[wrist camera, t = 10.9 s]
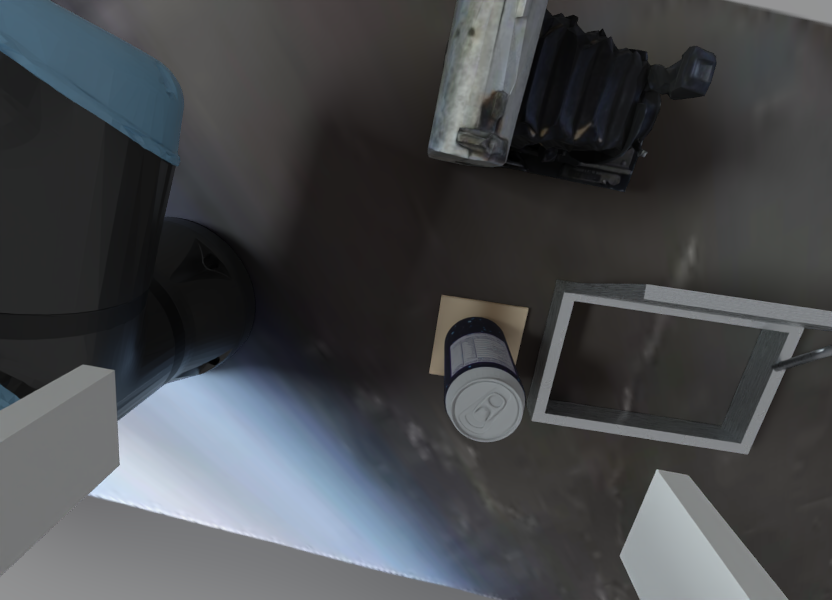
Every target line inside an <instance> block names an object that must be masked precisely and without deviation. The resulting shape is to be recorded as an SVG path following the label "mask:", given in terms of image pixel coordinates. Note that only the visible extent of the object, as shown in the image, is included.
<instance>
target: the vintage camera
mask: <svg viewBox="0 0 832 600" xmlns="http://www.w3.org/2000/svg"><path fill="white" fill-rule="evenodd" d="M547 3H548V0H457V2H456V7H455V12H454V17H453V22H452V27H451V33H450V37H449V40H448V43H447V48H446V53H445V59H444V64H443V74H442V79H441V84H440V89H439V94H438V99H437V104H436V110H435V115H434V120H433V125H432V130H431V135H430V140H429V145H428V156H429V157H430V158H433V159H437V160H442V161H447V162H452V163H456V164H462V165H467V166H479V167H497V166H499V167H505V168H511V169H516V170H521V171H525V172H530V173H535V174H540V175H545V176H550V177H554V178H559V179H564V180H568V181H573V182H578V183H583V184H588V185H593V186H598V187H603V188H608V189H613V190H617V191H622V192H625V190H626V188H627V185H628V183H629V181H630V178H631V175H632V172H633V169H634V167H635V164H636V161H637V158H638V157H639V156H643V157H645V156H646V154H647V152H646V151H645V150H643V149H641V146H642V143H643V140H644V138H645V137H646V136H647V135H648V133H649V132H650V131H651V130H652V127H653V125H654V122H655V120H656V118H657V115H658V113H659V110H660V105H661V98H660V94H662V95H663V94H668V95H669V97H670V99H673V100H677V99H686V98H694V97H700V96H705V94H706V92H707V90H708V87H709V85H710V83H711V81H712V77H713V74H714V70H715V67H716V56H715V55H714V53H711V52H709V51H706V50H704V49H702V48H700V47H698V46H692V47H689V48H688V50H687V51H686V52H685V53H684V54H683V55H682V59H681V60H680V61H678V62H677V63H675V64H674V65H672V66H670V67H669V68H664V66H662V65H652V66H650V64H649V63H648V61H647V60H648V56H647V52H646V51H642V50H635V49H628V48H624V49H620V50H618V49H617V47H616V46H615V44H614V43H613V40H612V37H609V38H607V37H606V35H605V32H604V30H603V28H602V30H601V31H600V32H599V30H598V31H592V32H587V33H584V32H583V31H582V29H581V28H580V27H579V26H578V25H577V21H578V17H576V16H574V15H571V16H568V17H564V15H563V14H562V13H560V14H557V15H554V16H552V15H551V14H550V12H549V11H548V10H547V9H546V7H547Z"/></svg>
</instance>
